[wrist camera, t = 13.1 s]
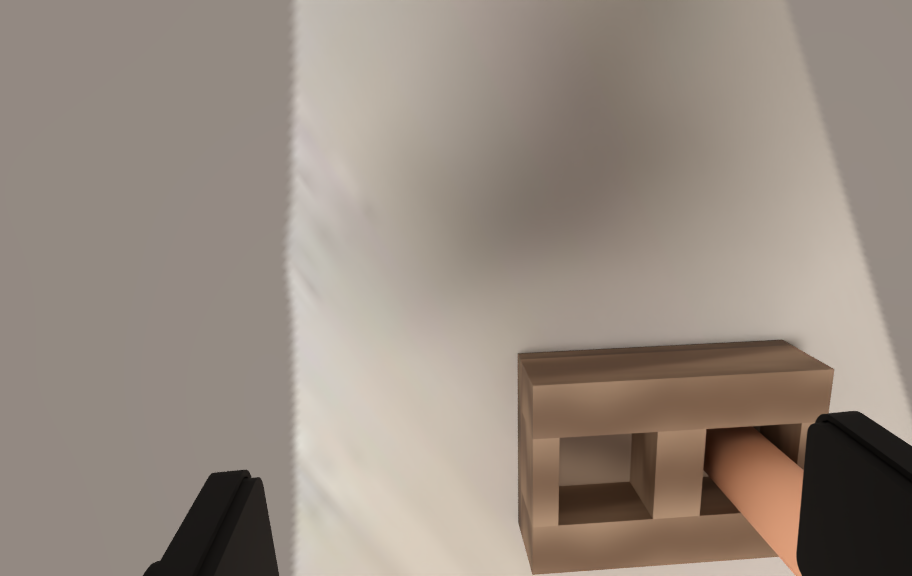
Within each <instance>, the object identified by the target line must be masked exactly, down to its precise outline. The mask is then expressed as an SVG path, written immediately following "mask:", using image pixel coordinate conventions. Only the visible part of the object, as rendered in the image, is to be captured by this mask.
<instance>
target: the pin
mask: <svg viewBox="0 0 912 576" xmlns="http://www.w3.org/2000/svg"><path fill="white" fill-rule="evenodd" d="M703 470H704V471H705V472H706V473H707V475H708V476H709V477H710V478H711V479H712V480H713V482H714V483H715V484H716V485H717V486H718V487H719V488H720V490H721V491H722V492H723V493H724V494H725V495H726V496H727V498H728V499H729V500H730V501H731V502H732V503H733V504H734V506H735V507H736V508H737V509H738V510H739V511H740V512H741V514H742V515H743V516H744V517H745V518H746V519H747V520H748V522H749V523H750V524H751V525H752V526H753V527H754V528H755V530H756V531H757V532H758V533H759V534H760V535H761V536H762V538H763V539H764V540H765V541H766V542H767V543H768V544H769V546H770V547H771V548H772V549H773V550H774V551H775V552H776V554H777V555H778V556H779V557H780V558H781V559H782V560H783V562H784V563H785V564H786V565H787V566H788V567H789V568H790V570H791V571H792V572H793V573H794V574H795V575H796V576H802V575H801V573H800V571H799V568H798V565H797V560H796V551H797V540H798V529H799V518H800V506H801V495H802V484H803V472H804V470H803V469H802V468H800V467H799V466H798V465H797V464H796V463H795V462H793V461H792V460H791V459H790V458H789V457H788V456H786V455H785V454H784V453H783V452H782V451H781V450H779V449H778V448H777V447H776V446H775V445H774V444H772V443H771V442H770V441H769V440H768V439H767V438H765V437H764V436H763V435H762V434H761V433H760V432H758V431H757V430H756V429H755V428H754V427H753V426H747V427H730V428H714V429H706V441H705V454H704V466H703Z"/></svg>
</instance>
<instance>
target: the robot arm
mask: <svg viewBox="0 0 912 576" xmlns="http://www.w3.org/2000/svg"><path fill="white" fill-rule="evenodd" d="M796 560H797V565H798V568H799V571H800V573H801V575H802V576H912V446H911V445H909V444H908V443H906V442H905V441H903V440H901V439H900V438H898V437H897V436H895V435H894V434H892V433H891V432H889V431H888V430H886V429H885V428H883V427H882V426H880V425H879V424H877V423H876V422H874V421H873V420H871V419H870V418H868V417H867V416H865V415H864V414H862V413H860V412H858V411H848V412H838V413H828V414H821V415H820V416H818V418H817V419H816V421H815V423H813V424H811V425H810V426H809V428H808V431H807V439H806V450H805V461H804V472H803V484H802V495H801V506H800V518H799V529H798V540H797V551H796ZM143 576H279V572H278V566H277V560H276V555H275V549H274V544H273V538H272V532H271V526H270V521H269V516H268V509H267V504H266V498H265V492H264V487H263V483H262V480H261V478H259V477H257V478H251V475H250V473H249V471H248V470H239V471H227V472H217V473H212V474H211V475H210V476H209V477H208V479H207V481H206V482H205V484H204V486H203V488H202V489H201V491H200V493H199V495H198V496H197V498H196V500H195V501H194V503H193V505H192V507H191V509H190V510H189V512H188V514H187V515H186V517H185V519H184V521H183V522H182V524H181V526H180V527H179V529H178V531H177V533H176V534H175V536H174V538H173V540H172V541H171V543H170V545H169V547H168V548H167V550H166V552H165V554H164V555H163V557H162V559H161V561H157V562H155V563H153V564H151V565H150V567H149V568H148V569H147V570H146V572H145V573H144V575H143Z"/></svg>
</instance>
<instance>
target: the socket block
mask: <svg viewBox="0 0 912 576" xmlns="http://www.w3.org/2000/svg"><path fill="white" fill-rule="evenodd" d="M833 375H834V369H833V368H831V367H829V366H828V365H826V364H824V363H822V362H821V361H819V360H817V359H815V358H814V357H812V356H810V355H808V354H806V353H805V352H803V351H801V350H799V349H798V348H796V347H794V346H792V345H791V344H789V343H787V342H785V341H784V340H772V341H753V342H733V343H714V344H695V345H676V346H656V347H637V348H618V349H598V350H579V351H560V352H541V353H521V354H518V523H519V527H520V530H521V534H522V538H523V541H524V545H525V549H526V552H527V556H528V560H529V563H530V567H531V571H532V574H533V575H535V574H549V573H562V572H576V571H589V570H603V569H617V568H630V567H644V566H658V565H671V564H685V563H698V562H712V561H726V560H739V559H753V558H767V557H779V556H778V555H777V554H776V552H775V551H774V550H773V549H772V548H771V547H770V546H769V544H768V543H767V542H766V541H765V540H764V539H763V538H762V536H761V535H760V534H759V533H758V532H757V531H756V530H755V528H754V527H753V526H752V525H751V524H750V523H749V522H748V520H747V519H746V518H745V517H744V516H743V515H742V514H741V512H740V511H739V510H738V509H737V508H736V507H735V506H734V504H733V503H732V502H731V501H730V500H729V499H728V498H727V496H726V495H725V494H724V493H723V492H722V491H721V490H720V488H719V487H718V486H717V485H716V484H715V483H714V482H713V480H712V479H711V478H710V477H709V476H708V475H707V473H706V472H705V471H704V470H703V466H704V454H705V441H706V429H714V428H730V427H747V426H753V427H754V428H755V429H756V430H757V431H758V432H760V433H761V434H762V435H763V436H764V437H765V438H767V439H768V440H769V441H770V442H771V443H772V444H774V445H775V446H776V447H777V448H778V449H779V450H781V451H782V452H783V453H784V454H785V455H786V456H788V457H789V458H790V459H791V460H792V461H793V462H795V463H796V464H797V465H798V466H799V467H800V468H802V469H803V470H804V461H805V450H806V439H807V431H808V428H809V426H810V425H811V424H813V423H815V421H816V419H817V418H818V416H820V415H821V414H828V413H829V405H830V398H831V390H832V382H833Z"/></svg>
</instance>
